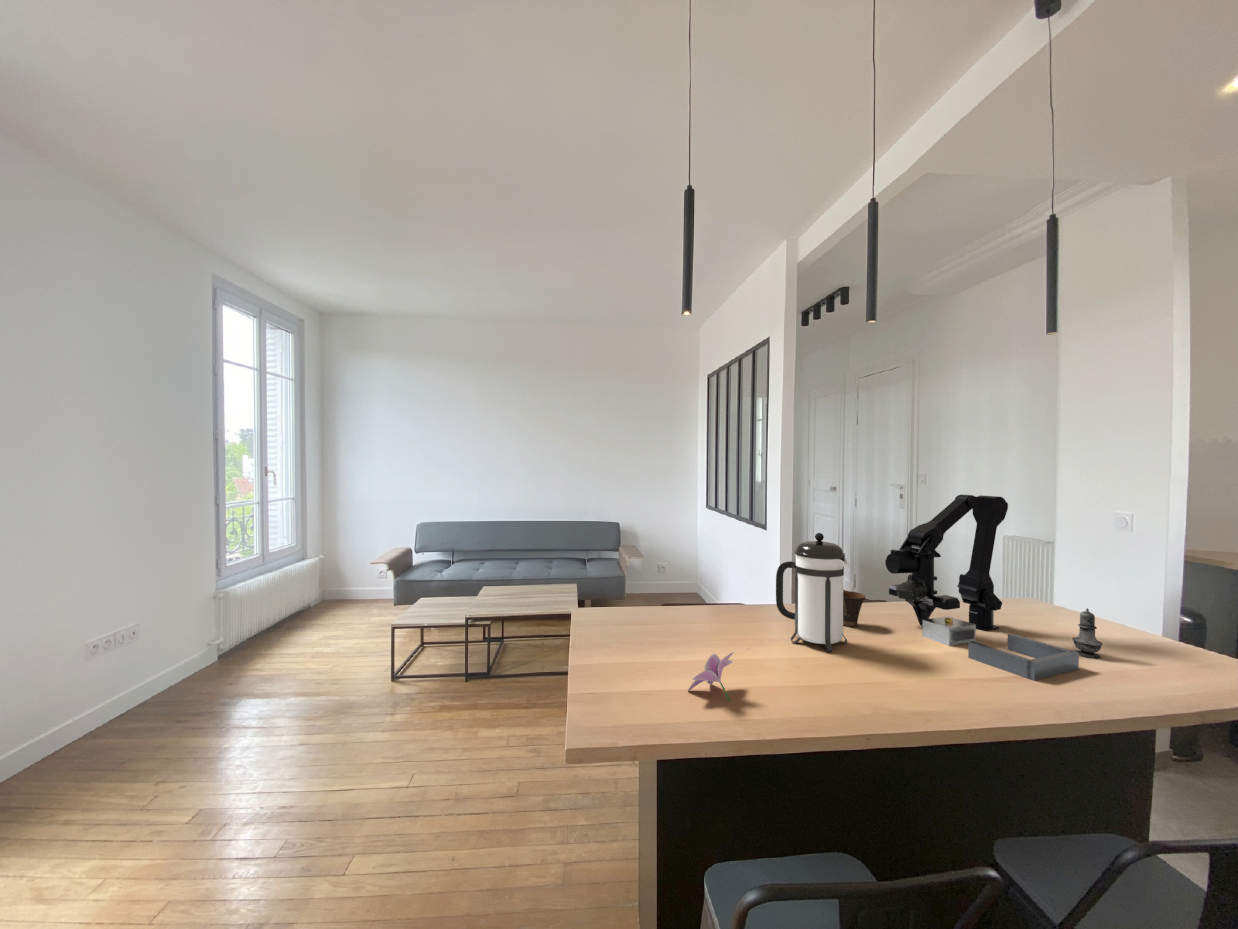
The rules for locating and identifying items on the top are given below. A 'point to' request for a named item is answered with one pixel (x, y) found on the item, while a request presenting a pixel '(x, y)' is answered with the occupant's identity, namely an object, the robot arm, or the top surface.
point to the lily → (712, 671)
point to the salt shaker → (1087, 637)
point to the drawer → (949, 630)
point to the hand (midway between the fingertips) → (922, 625)
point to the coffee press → (816, 592)
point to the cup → (851, 607)
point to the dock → (1044, 665)
